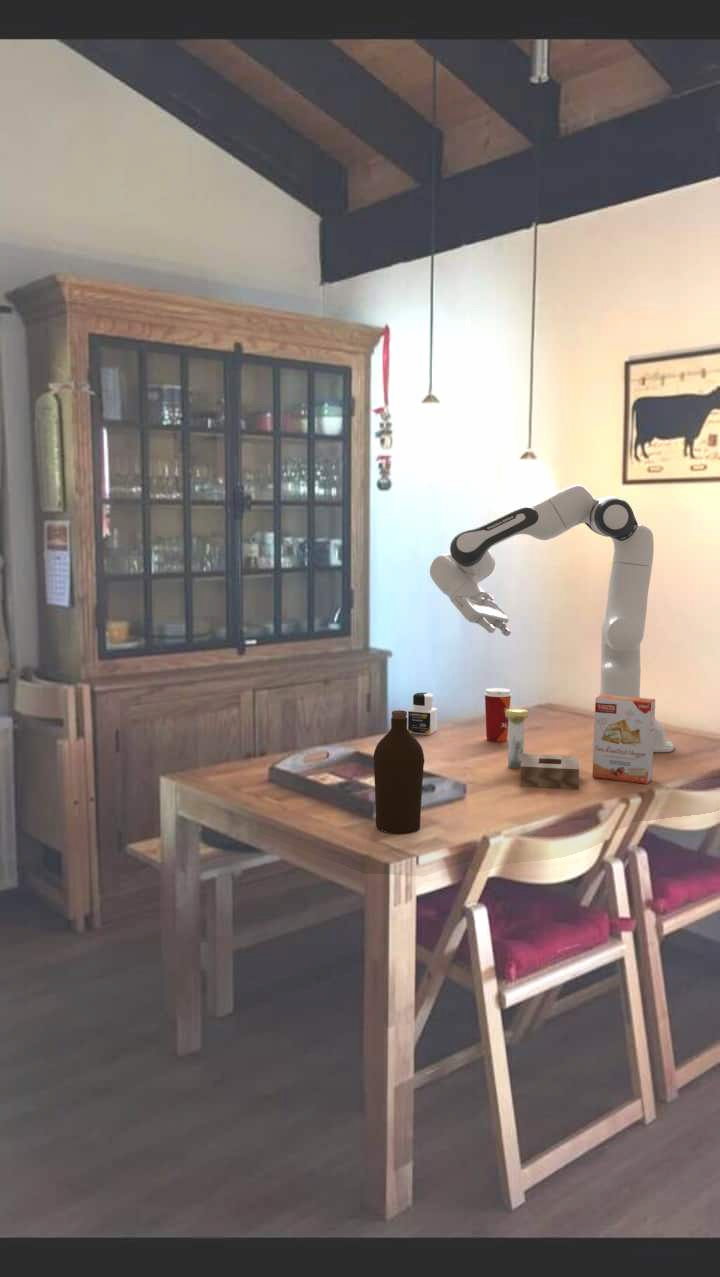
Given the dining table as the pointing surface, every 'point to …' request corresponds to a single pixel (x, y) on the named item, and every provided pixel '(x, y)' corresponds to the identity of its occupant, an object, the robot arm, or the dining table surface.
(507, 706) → the coffee cup
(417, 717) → the medicine bottle
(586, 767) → the dining table surface
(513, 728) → the pin
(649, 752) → the cracker box
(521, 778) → the block
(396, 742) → the olive oil
